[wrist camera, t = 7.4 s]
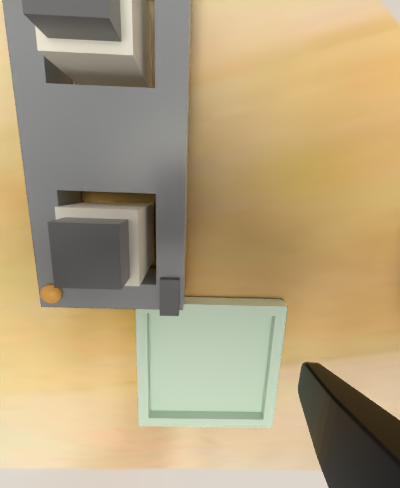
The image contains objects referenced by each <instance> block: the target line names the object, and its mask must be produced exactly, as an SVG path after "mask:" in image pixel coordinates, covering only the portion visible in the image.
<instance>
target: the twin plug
mask: <svg viewBox="0 0 400 488" xmlns="http://www.w3.org/2000/svg"><path fill="white" fill-rule="evenodd" d="M22 8H23V14H24V15H25V16H26V17H27V18H28V19H29V20H30V21H31V22H32V23H33V24H34V25H35V31H36V40H37V50H38V51H39V52H40V53H41V54H42V55H43V56H45V57H46V58H47V59H48V60H49V61H50V62H52V63H53V64H54V65H55V66H56V67H58V68H59V69H60V70H61V71H62V72H63V73H65V74H66V75H67V76H68V77H69V78H71V79H72V80H73V81H74V82H75V83H77V84H78V85H98V86H120V87H142V88H151V13H150V9H149V6H148V2H147V0H22Z"/></svg>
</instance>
